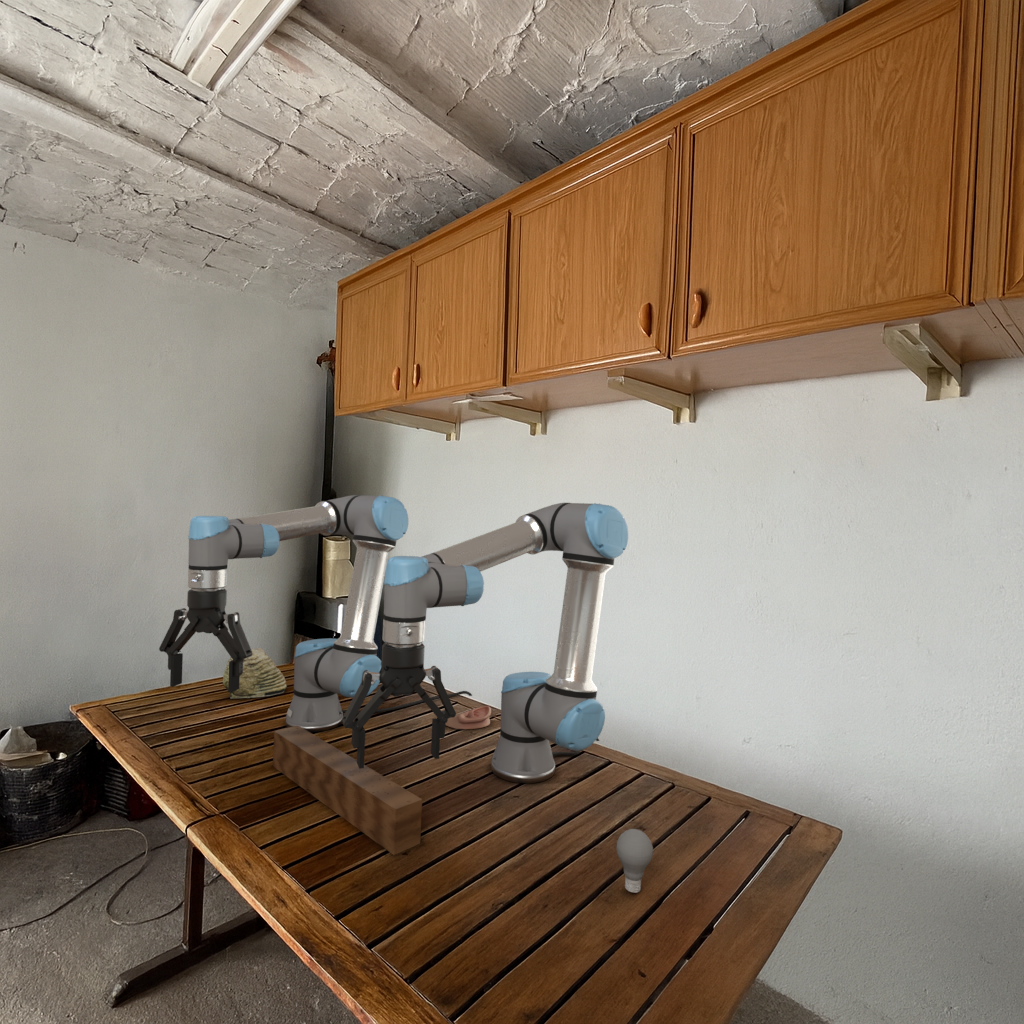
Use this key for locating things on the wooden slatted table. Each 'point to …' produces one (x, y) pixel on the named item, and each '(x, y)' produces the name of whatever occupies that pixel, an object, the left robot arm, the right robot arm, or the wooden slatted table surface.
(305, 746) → the bar
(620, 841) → the light bulb
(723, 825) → the wooden slatted table surface
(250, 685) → the fossil
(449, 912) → the wooden slatted table surface
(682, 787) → the wooden slatted table surface
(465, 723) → the anatomical model
